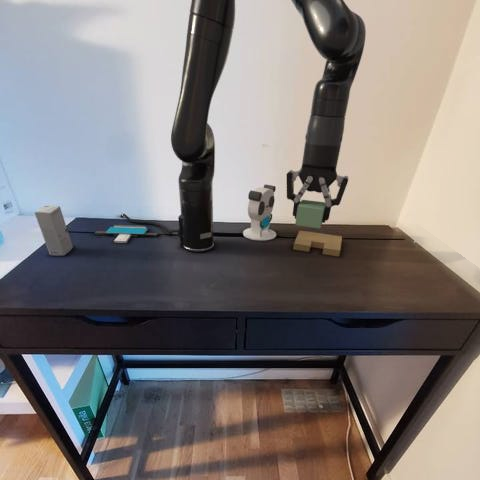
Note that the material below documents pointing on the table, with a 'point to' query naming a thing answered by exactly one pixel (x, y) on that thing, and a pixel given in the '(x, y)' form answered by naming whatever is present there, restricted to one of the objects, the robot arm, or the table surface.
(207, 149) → the robot arm
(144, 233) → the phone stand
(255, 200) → the panda figurine
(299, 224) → the green rectangular block
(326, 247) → the base pad
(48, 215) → the cosmetic box
